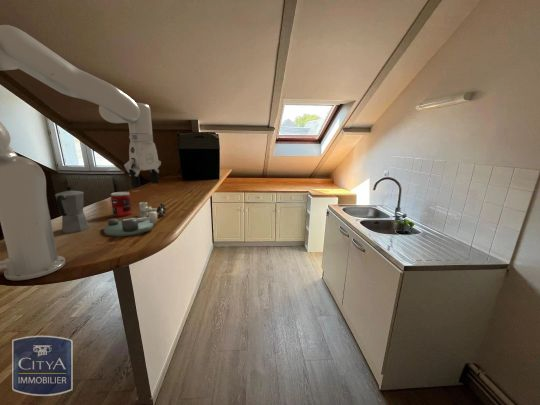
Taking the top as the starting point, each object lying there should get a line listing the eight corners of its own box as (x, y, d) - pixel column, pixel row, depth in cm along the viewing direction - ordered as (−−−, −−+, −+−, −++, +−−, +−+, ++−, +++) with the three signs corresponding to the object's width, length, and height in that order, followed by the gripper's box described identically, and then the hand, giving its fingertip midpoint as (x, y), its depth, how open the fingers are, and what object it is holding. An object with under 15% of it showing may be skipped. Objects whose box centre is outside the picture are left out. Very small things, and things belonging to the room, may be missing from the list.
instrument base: (104, 239, 91) (103, 230, 90) (103, 225, 105) (102, 218, 105) (156, 231, 101) (155, 223, 100) (149, 219, 115) (148, 212, 114)
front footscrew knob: (123, 232, 94) (121, 218, 92) (122, 228, 98) (120, 214, 97) (159, 227, 101) (157, 213, 99) (156, 223, 105) (155, 210, 104)
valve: (136, 217, 119) (159, 218, 118) (134, 204, 117) (158, 205, 116) (144, 213, 125) (166, 214, 124) (143, 201, 124) (165, 202, 123)
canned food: (114, 213, 124) (111, 192, 121) (132, 212, 127) (130, 191, 124) (112, 217, 117) (109, 195, 114) (131, 216, 120) (128, 194, 118)
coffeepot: (70, 224, 106) (63, 183, 102) (95, 223, 108) (89, 183, 104) (49, 237, 92) (40, 190, 87) (78, 235, 94) (70, 190, 90)
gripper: (131, 138, 81) (136, 189, 85) (165, 139, 97) (169, 182, 101) (113, 138, 83) (119, 187, 87) (150, 139, 99) (153, 181, 103)
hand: (146, 184), depth 94 cm, fingers open, 9 cm apart
